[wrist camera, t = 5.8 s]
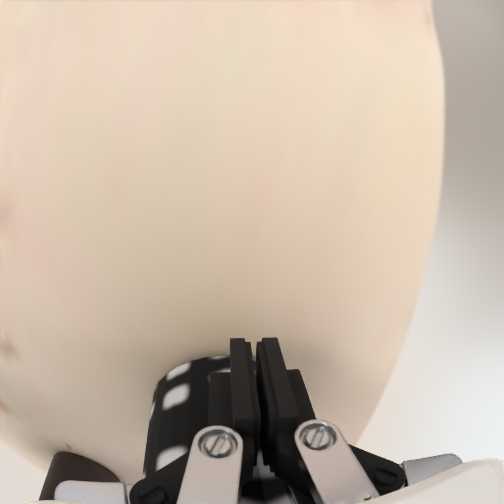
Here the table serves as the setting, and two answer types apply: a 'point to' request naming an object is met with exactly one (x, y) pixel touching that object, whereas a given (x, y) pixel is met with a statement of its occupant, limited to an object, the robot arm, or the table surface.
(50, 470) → the bottle
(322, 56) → the table surface
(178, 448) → the white-spotted black cylinder
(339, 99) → the table surface
